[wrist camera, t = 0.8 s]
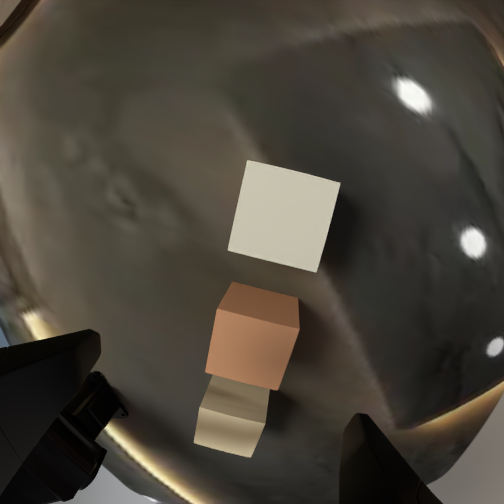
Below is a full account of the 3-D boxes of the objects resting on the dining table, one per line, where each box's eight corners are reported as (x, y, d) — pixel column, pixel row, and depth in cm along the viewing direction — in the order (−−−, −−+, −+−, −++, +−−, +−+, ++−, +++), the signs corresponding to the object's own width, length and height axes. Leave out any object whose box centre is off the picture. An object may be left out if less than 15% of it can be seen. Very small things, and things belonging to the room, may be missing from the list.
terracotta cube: (280, 351, 23) (277, 390, 18) (221, 336, 23) (205, 372, 18) (298, 297, 21) (299, 329, 17) (232, 281, 22) (217, 308, 17)
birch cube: (257, 419, 25) (250, 457, 20) (207, 406, 25) (193, 442, 20) (270, 384, 24) (265, 423, 19) (215, 369, 24) (199, 407, 19)
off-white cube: (310, 251, 21) (316, 272, 16) (242, 234, 21) (227, 250, 16) (327, 183, 19) (340, 183, 14) (257, 165, 20) (247, 160, 15)
